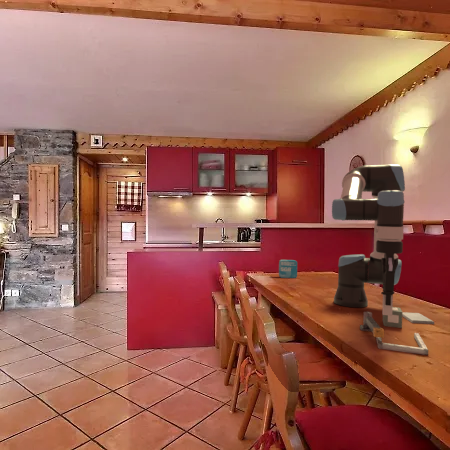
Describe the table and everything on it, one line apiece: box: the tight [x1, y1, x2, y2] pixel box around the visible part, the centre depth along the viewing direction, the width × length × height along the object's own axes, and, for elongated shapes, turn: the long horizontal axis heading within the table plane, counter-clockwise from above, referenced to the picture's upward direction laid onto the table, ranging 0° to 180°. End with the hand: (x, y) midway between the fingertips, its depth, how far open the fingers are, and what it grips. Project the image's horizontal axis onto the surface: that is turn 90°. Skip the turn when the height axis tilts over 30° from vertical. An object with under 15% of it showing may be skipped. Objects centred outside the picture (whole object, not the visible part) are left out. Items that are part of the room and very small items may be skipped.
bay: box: [375, 332, 429, 356], centre depth 110 cm, size 16×13×2 cm
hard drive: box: [402, 311, 435, 325], centre depth 138 cm, size 2×8×12 cm
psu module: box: [382, 306, 403, 329], centre depth 130 cm, size 7×6×6 cm
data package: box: [278, 259, 298, 279], centre depth 235 cm, size 12×4×12 cm, turn 87°
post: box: [359, 311, 373, 333], centre depth 123 cm, size 5×5×6 cm
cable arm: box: [366, 316, 385, 339], centre depth 114 cm, size 16×3×2 cm, turn 168°
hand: (387, 314), depth 108 cm, fingers closed
